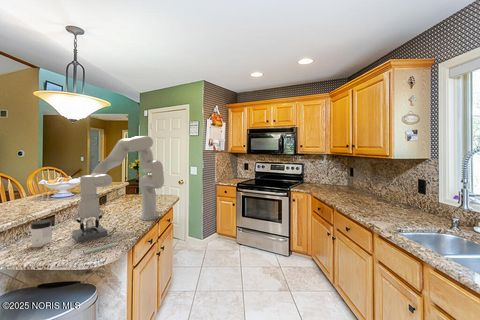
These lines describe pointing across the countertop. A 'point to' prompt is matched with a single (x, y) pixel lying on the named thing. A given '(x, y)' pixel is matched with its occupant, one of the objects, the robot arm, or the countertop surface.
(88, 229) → the grey rounded knob
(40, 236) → the jar
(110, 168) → the robot arm
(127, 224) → the countertop surface
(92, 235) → the housing
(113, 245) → the mat
